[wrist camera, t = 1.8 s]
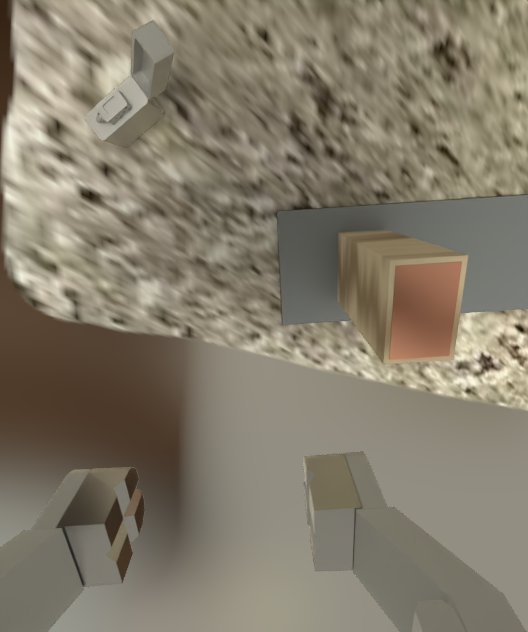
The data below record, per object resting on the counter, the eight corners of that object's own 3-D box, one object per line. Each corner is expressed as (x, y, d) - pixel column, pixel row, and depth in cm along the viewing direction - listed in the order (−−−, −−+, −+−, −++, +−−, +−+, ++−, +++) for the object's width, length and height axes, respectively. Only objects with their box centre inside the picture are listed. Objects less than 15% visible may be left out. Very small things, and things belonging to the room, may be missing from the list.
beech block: (338, 232, 29) (390, 260, 18) (385, 229, 29) (469, 255, 18) (337, 300, 31) (383, 364, 20) (381, 297, 31) (453, 360, 20)
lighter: (125, 148, 27) (74, 133, 19) (109, 128, 26) (51, 104, 19) (196, 88, 26) (171, 46, 18) (181, 65, 25) (149, 12, 18)
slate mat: (276, 211, 29) (277, 211, 28) (589, 190, 29) (594, 190, 28) (282, 322, 32) (282, 324, 32) (560, 304, 32) (565, 306, 32)
